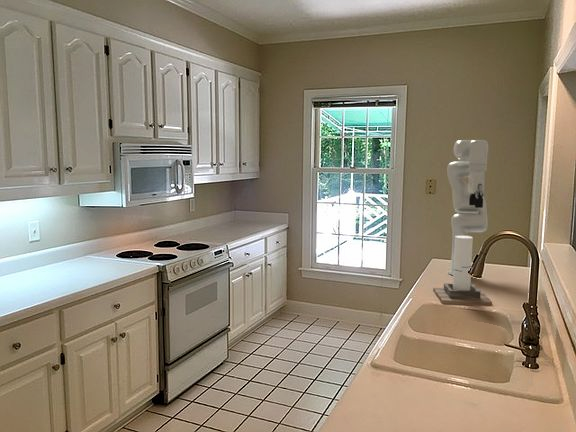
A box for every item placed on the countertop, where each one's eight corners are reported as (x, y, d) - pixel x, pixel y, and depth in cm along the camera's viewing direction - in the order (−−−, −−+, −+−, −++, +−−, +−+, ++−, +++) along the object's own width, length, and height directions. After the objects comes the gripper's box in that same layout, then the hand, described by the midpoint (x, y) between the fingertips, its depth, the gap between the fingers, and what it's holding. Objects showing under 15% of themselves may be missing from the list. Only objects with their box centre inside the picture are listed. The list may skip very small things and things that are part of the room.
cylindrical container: (471, 296, 210) (474, 238, 207) (453, 295, 212) (456, 238, 209) (468, 292, 217) (471, 235, 214) (451, 291, 219) (454, 235, 216)
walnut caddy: (433, 290, 225) (433, 280, 225) (478, 292, 223) (479, 282, 223) (442, 303, 206) (442, 293, 205) (492, 305, 203) (492, 294, 203)
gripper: (464, 167, 230) (462, 204, 232) (474, 168, 212) (472, 208, 215) (480, 167, 229) (479, 204, 231) (492, 168, 212) (490, 208, 214)
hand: (475, 206), depth 223 cm, fingers open, 9 cm apart
